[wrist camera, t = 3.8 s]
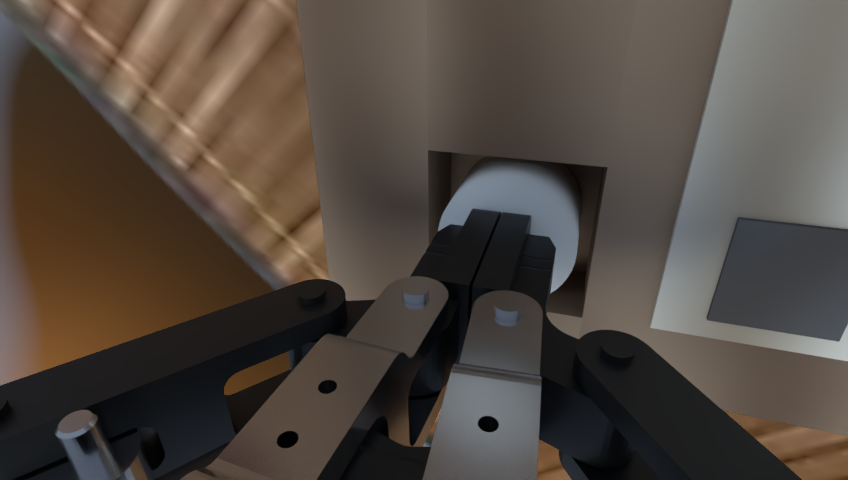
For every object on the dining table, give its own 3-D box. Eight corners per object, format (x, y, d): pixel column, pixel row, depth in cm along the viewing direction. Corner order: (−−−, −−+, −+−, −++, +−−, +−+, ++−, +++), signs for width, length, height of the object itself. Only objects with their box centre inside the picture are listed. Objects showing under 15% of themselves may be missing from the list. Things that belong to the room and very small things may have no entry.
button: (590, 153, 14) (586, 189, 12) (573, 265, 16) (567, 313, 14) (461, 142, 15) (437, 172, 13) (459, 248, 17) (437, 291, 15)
